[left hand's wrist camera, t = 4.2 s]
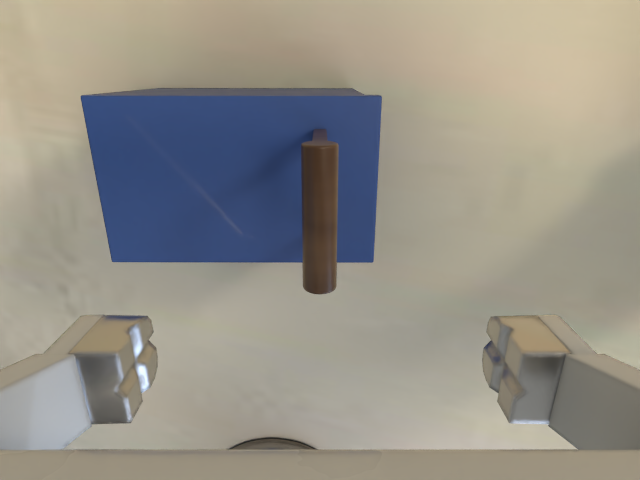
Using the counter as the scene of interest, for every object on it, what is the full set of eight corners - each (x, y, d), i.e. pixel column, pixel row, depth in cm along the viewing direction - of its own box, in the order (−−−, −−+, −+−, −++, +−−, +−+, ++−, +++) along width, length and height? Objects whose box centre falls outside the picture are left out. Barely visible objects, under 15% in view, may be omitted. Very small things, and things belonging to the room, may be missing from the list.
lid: (379, 94, 23) (406, 104, 16) (371, 256, 27) (390, 324, 19) (89, 94, 23) (-16, 104, 16) (118, 256, 27) (43, 324, 19)
